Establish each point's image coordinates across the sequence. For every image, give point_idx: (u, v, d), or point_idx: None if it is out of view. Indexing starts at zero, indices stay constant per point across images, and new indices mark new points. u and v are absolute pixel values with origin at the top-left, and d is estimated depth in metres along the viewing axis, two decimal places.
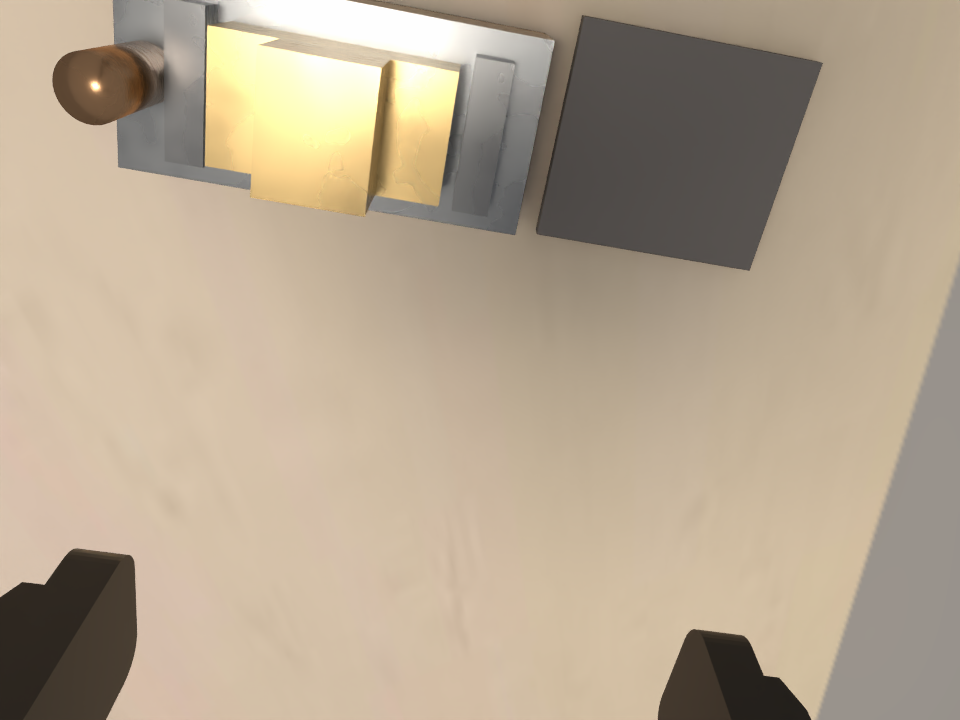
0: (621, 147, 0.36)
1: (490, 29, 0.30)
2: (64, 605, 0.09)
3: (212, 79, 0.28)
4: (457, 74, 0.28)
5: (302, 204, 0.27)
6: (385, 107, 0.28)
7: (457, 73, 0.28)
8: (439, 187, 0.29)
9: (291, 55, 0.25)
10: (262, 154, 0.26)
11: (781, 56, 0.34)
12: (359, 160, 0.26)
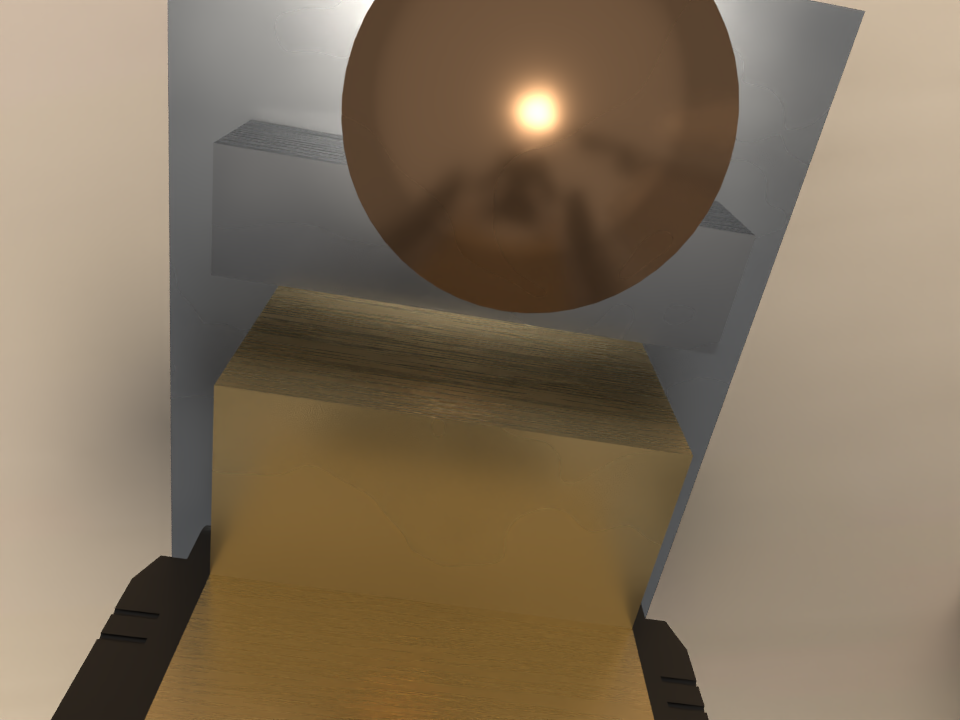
0: None
1: None
2: None
3: (522, 450, 0.08)
4: None
5: None
6: None
7: None
8: None
9: None
10: None
11: None
12: None
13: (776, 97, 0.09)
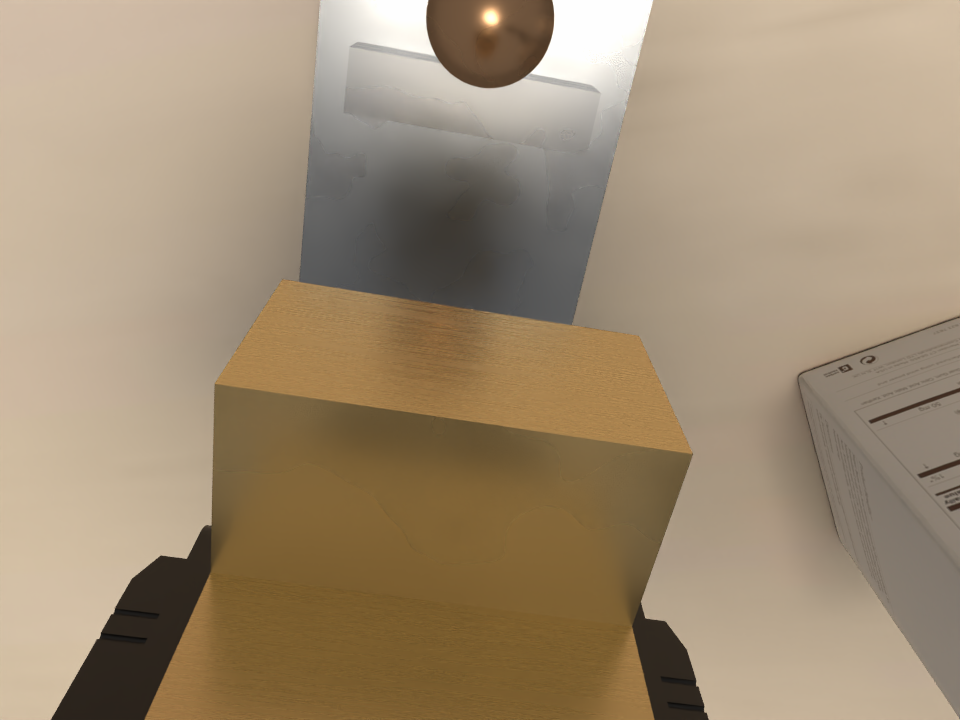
0: None
1: None
2: None
3: (522, 448, 0.08)
4: None
5: None
6: None
7: None
8: None
9: None
10: None
11: None
12: None
13: (617, 30, 0.19)
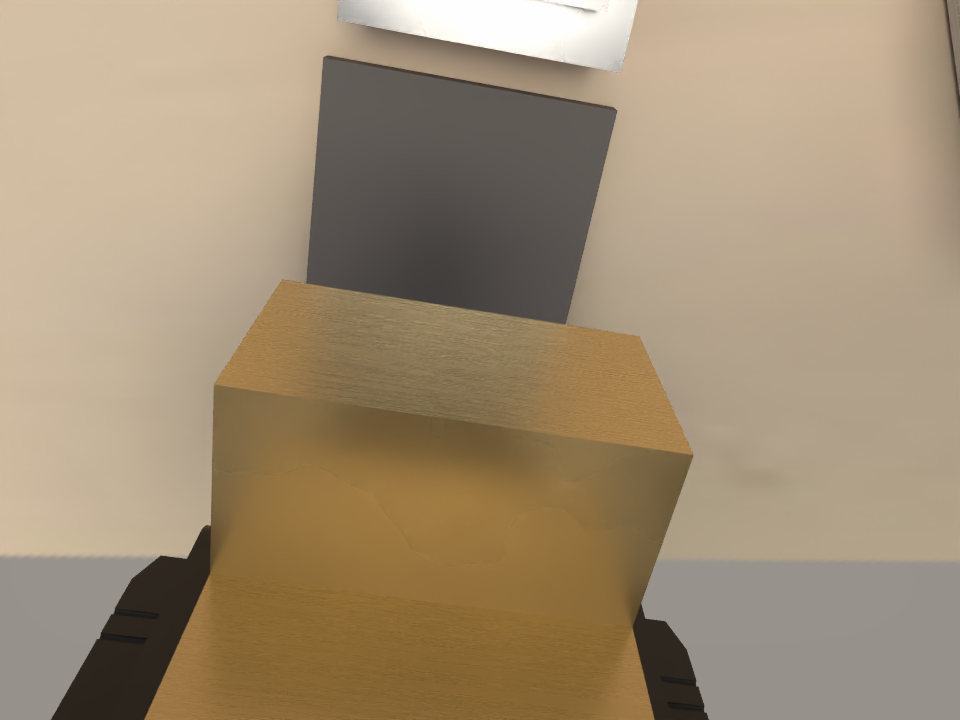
0: (452, 173, 0.27)
1: None
2: None
3: (522, 449, 0.08)
4: None
5: None
6: None
7: None
8: None
9: None
10: None
11: None
12: None
13: None
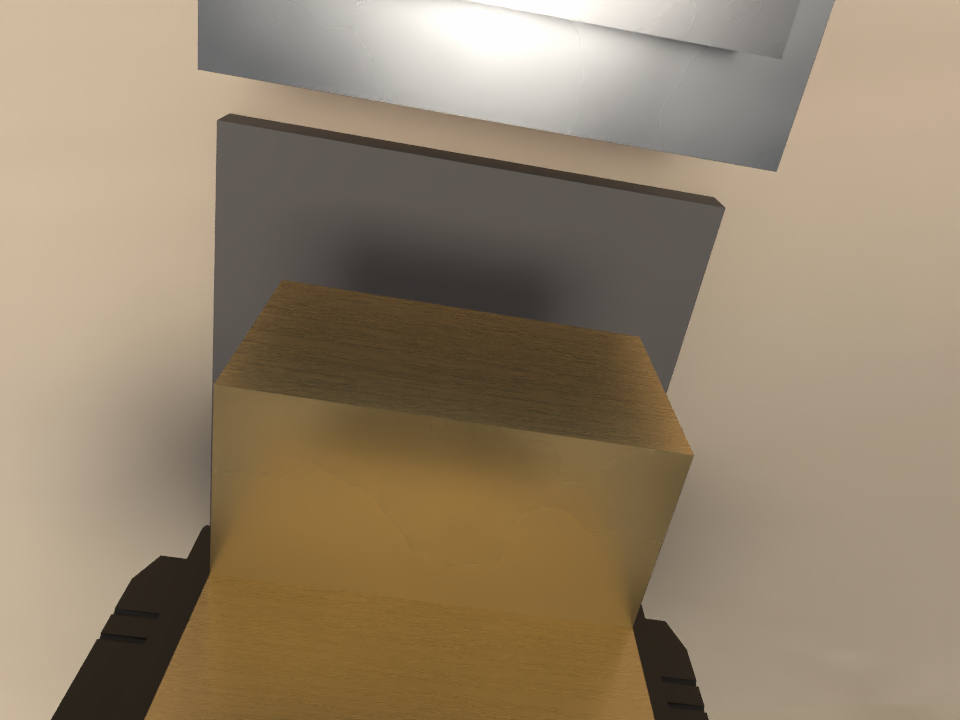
0: None
1: None
2: None
3: (522, 449, 0.08)
4: None
5: None
6: None
7: None
8: None
9: None
10: None
11: None
12: None
13: None
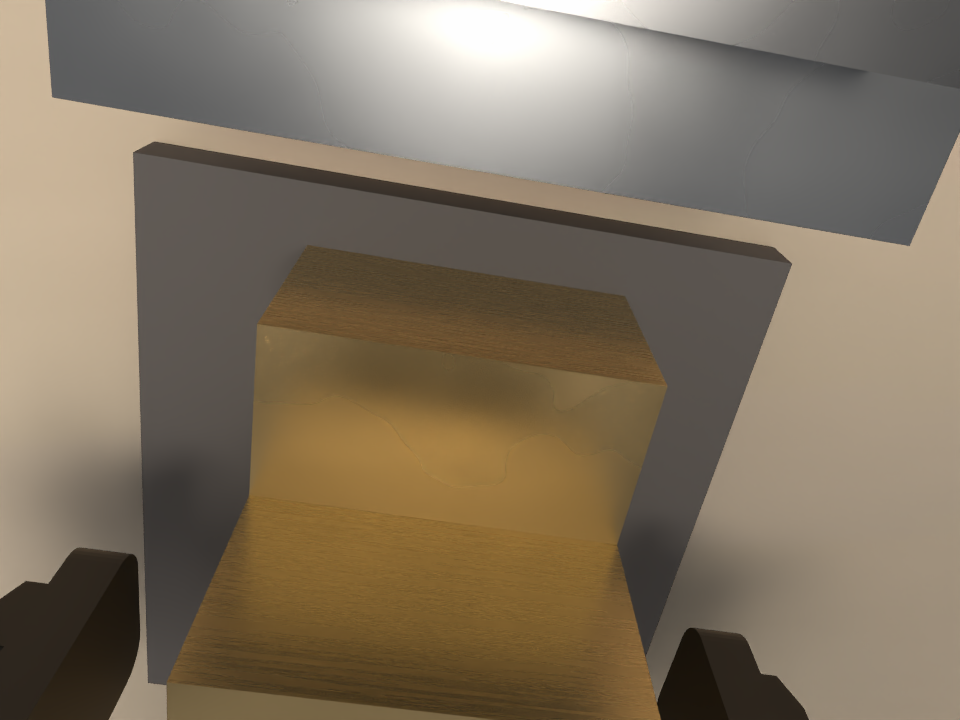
0: None
1: None
2: (68, 604, 0.09)
3: (520, 381, 0.09)
4: None
5: None
6: None
7: None
8: None
9: None
10: None
11: None
12: None
13: None
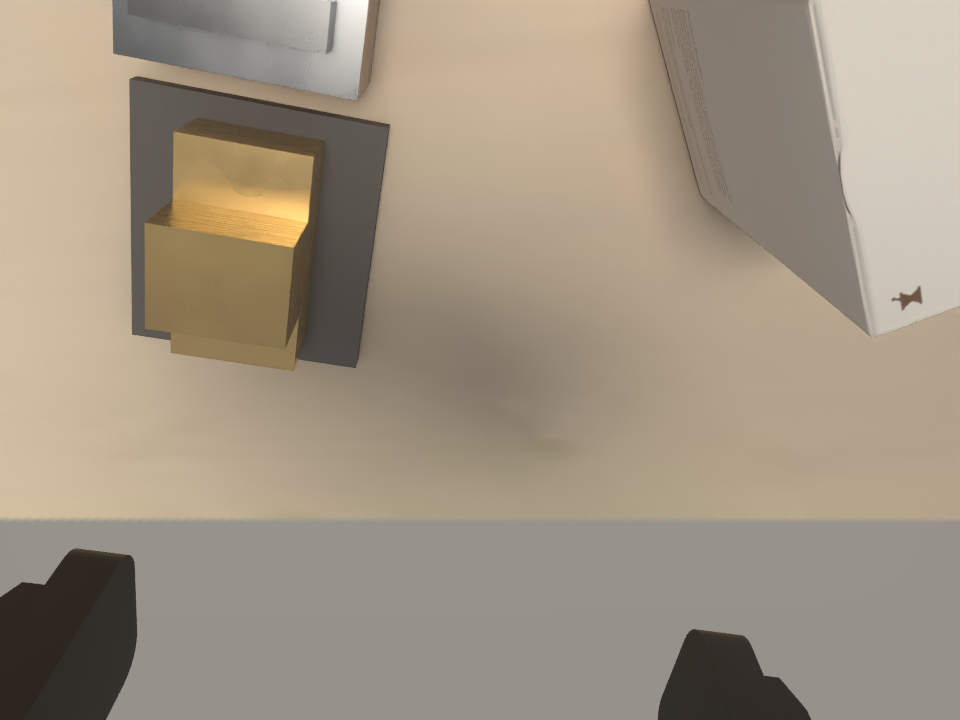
0: None
1: (365, 19, 0.25)
2: (64, 605, 0.09)
3: (263, 154, 0.28)
4: (292, 369, 0.32)
5: (146, 272, 0.27)
6: None
7: (292, 369, 0.32)
8: (189, 354, 0.31)
9: (287, 276, 0.27)
10: (191, 240, 0.26)
11: (359, 330, 0.35)
12: (200, 327, 0.28)
13: None
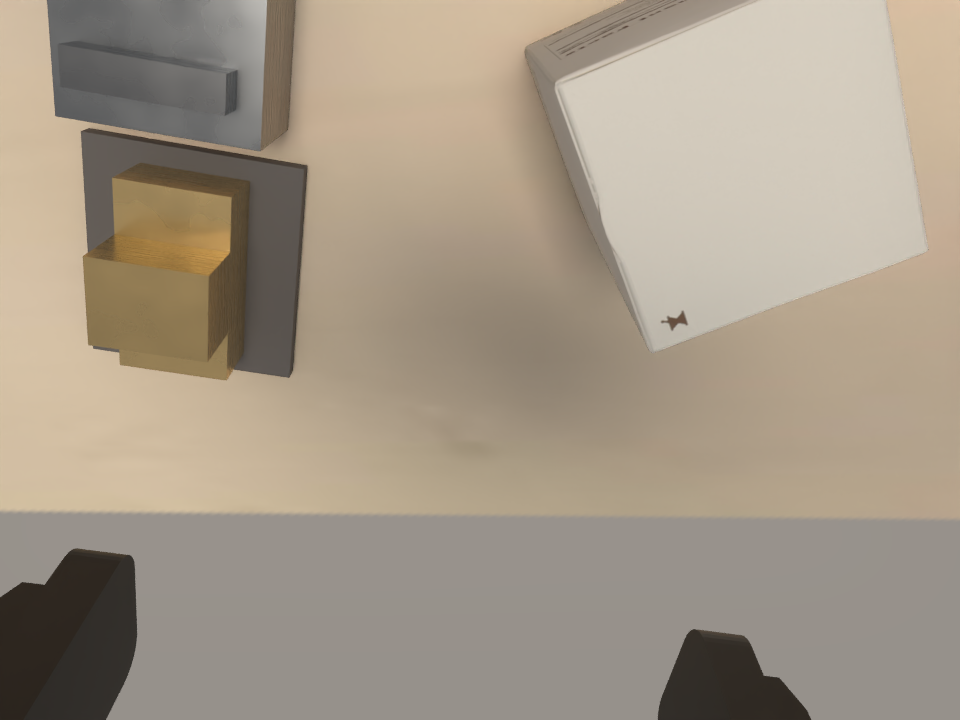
0: None
1: (262, 84, 0.30)
2: (64, 605, 0.09)
3: (188, 195, 0.33)
4: (224, 378, 0.37)
5: (86, 298, 0.32)
6: None
7: (225, 379, 0.37)
8: (135, 365, 0.36)
9: (205, 300, 0.32)
10: (122, 270, 0.31)
11: (290, 344, 0.39)
12: (134, 343, 0.32)
13: None
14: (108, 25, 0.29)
